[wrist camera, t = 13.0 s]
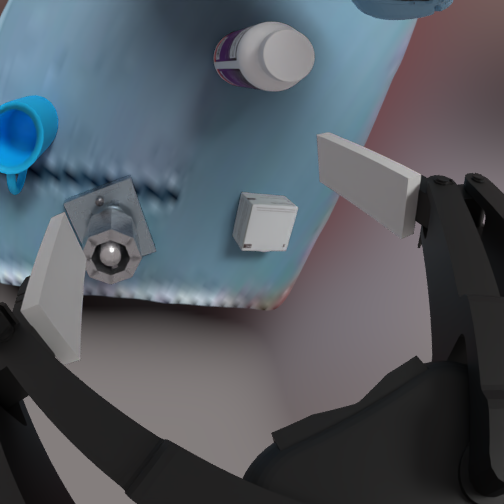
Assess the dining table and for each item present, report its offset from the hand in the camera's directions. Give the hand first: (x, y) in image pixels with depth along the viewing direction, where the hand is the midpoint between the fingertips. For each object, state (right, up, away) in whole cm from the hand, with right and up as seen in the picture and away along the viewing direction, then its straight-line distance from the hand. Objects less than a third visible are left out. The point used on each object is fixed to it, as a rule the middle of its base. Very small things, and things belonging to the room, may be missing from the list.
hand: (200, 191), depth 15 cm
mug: (-27, +12, +17) cm, 34 cm away
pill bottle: (+1, +23, +22) cm, 32 cm away
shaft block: (-18, +1, +28) cm, 33 cm away
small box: (+3, +3, +37) cm, 37 cm away
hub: (-17, -1, +26) cm, 31 cm away
